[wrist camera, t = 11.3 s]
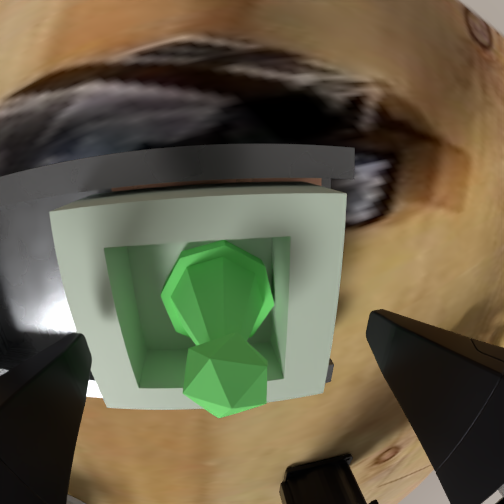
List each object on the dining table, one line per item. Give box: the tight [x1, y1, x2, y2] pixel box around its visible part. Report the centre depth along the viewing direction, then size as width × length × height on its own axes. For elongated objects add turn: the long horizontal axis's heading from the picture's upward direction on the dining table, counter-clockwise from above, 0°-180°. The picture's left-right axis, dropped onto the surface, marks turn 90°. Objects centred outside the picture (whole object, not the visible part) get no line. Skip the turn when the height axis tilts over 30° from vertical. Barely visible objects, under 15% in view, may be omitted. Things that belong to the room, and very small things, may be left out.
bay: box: [0, 144, 355, 398], centre depth 12 cm, size 20×11×3 cm, turn 91°
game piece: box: [160, 240, 274, 418], centre depth 9 cm, size 4×4×6 cm
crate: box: [49, 182, 347, 410], centre depth 11 cm, size 9×8×4 cm
